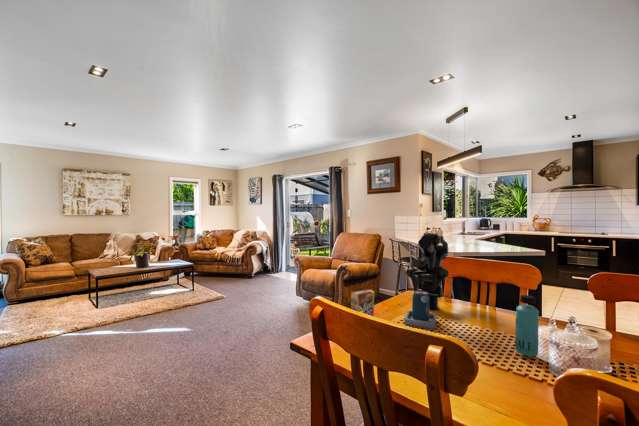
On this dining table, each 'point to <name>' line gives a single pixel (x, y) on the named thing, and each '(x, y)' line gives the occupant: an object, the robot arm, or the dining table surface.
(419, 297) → the soda can
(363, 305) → the candy box
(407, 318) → the tray
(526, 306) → the beverage bottle
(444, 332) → the dining table surface
